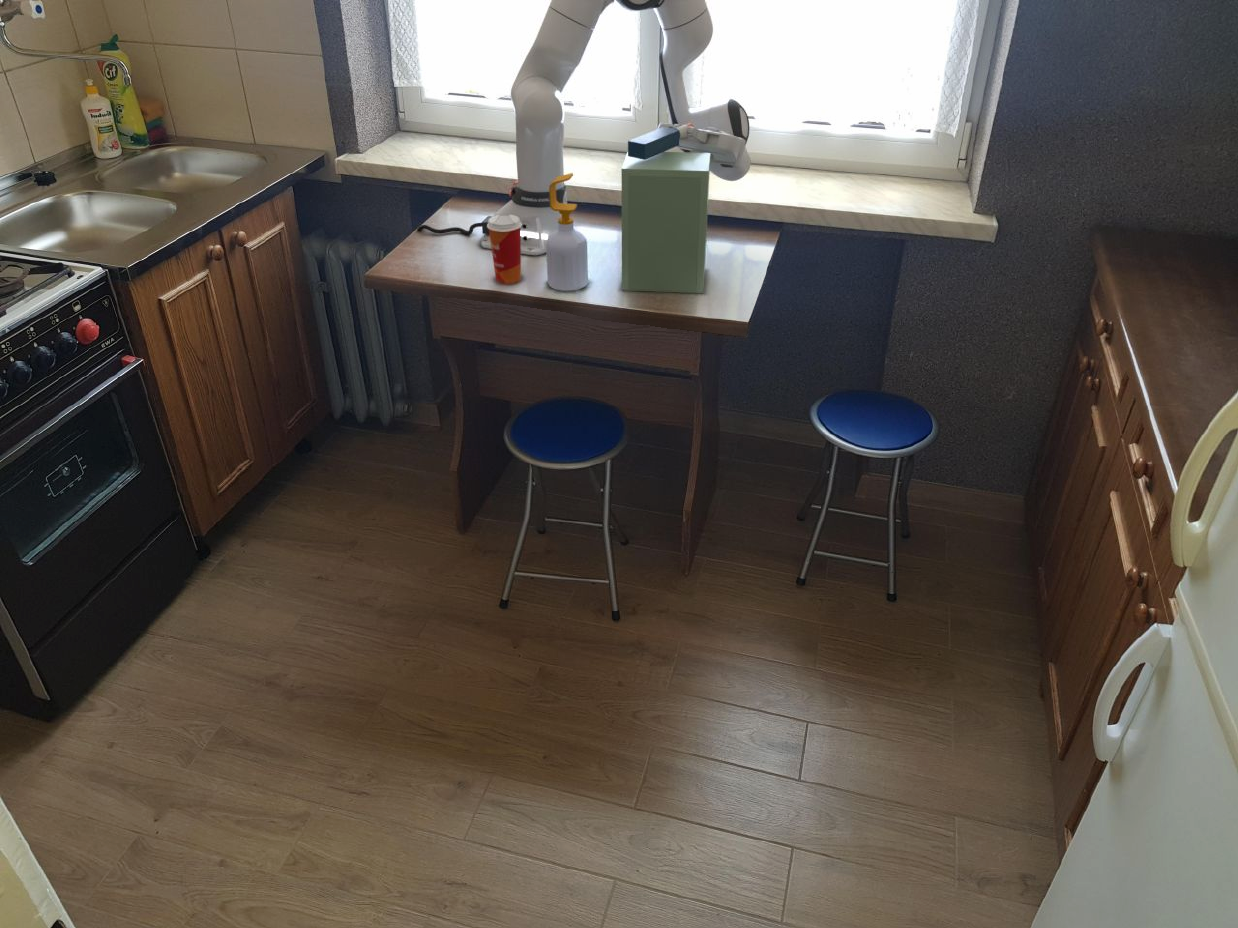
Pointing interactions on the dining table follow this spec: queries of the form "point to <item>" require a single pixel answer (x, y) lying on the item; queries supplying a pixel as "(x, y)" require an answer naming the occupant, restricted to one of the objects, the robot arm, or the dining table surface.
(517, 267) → the paper cup
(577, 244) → the soap bottle
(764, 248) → the dining table surface
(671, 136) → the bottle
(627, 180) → the stand
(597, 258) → the dining table surface
